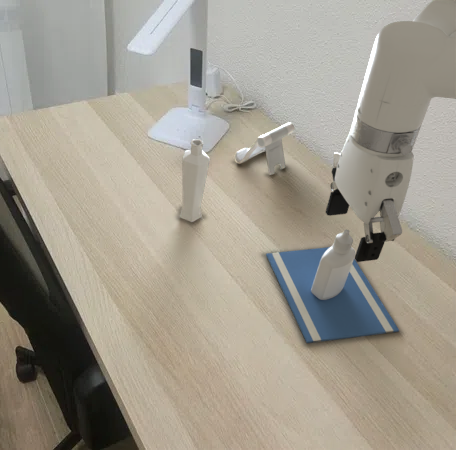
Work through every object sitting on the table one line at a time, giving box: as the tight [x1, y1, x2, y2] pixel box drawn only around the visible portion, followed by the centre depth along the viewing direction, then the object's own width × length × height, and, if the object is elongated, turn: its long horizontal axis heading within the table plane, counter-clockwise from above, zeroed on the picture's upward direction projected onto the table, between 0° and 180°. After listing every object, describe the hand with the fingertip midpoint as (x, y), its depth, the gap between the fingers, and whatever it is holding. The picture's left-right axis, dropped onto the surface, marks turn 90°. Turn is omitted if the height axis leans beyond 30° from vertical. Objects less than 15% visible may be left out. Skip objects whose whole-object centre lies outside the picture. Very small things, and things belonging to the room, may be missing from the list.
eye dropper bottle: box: [311, 228, 356, 300], centre depth 81 cm, size 4×6×12 cm
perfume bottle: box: [179, 138, 211, 223], centre depth 93 cm, size 5×4×15 cm
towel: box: [265, 246, 400, 344], centre depth 85 cm, size 14×18×1 cm
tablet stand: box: [234, 122, 296, 176], centre depth 108 cm, size 9×8×8 cm
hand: (350, 235), depth 78 cm, fingers open, 9 cm apart
